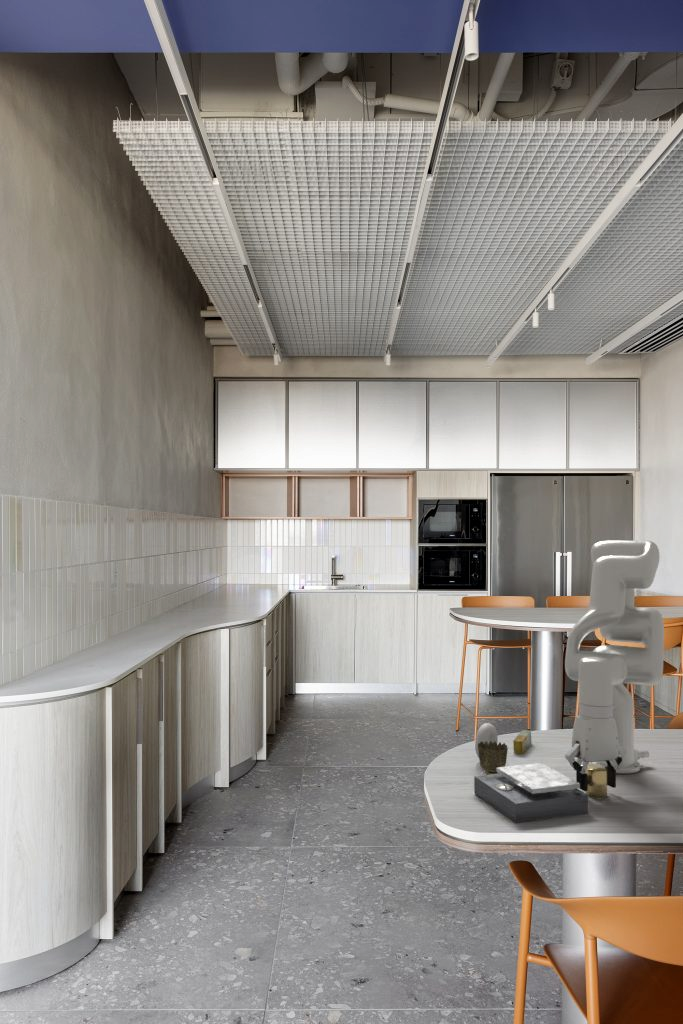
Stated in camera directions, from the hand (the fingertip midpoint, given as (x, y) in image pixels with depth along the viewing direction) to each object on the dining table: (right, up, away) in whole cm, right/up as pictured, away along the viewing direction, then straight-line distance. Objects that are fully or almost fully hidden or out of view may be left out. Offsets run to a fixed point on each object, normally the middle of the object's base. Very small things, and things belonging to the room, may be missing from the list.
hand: (596, 786), depth 165 cm
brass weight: (0, -2, 0) cm, 2 cm away
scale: (-17, -1, -6) cm, 18 cm away
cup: (-22, -2, +12) cm, 25 cm away
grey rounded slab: (-21, -3, +25) cm, 32 cm away
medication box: (-8, -4, +37) cm, 38 cm away
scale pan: (-15, +3, -5) cm, 16 cm away
